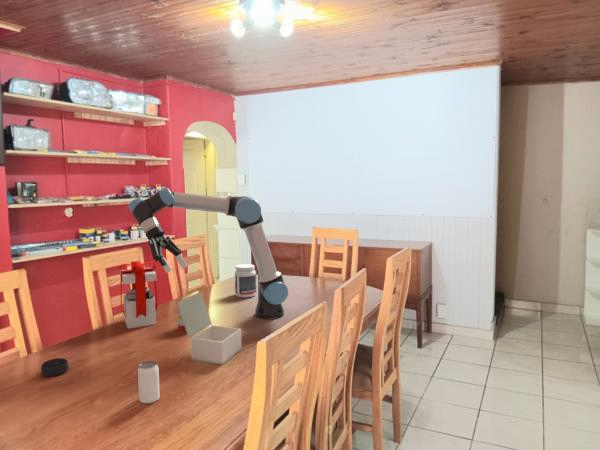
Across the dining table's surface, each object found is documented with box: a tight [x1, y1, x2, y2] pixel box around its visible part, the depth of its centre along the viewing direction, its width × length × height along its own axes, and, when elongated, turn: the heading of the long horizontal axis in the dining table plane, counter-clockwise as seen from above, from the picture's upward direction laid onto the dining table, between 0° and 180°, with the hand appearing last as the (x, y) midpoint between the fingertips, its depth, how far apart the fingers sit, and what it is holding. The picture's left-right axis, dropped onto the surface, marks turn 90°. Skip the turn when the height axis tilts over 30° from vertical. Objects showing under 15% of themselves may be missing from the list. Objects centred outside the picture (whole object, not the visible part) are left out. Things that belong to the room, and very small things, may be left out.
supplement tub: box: [234, 263, 257, 299], centre depth 272 cm, size 13×13×18 cm
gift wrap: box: [118, 260, 158, 329], centre depth 222 cm, size 17×17×30 cm
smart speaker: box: [40, 357, 69, 377], centre depth 168 cm, size 9×9×4 cm
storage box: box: [190, 324, 242, 365], centre depth 183 cm, size 14×16×9 cm
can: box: [137, 360, 161, 405], centre depth 147 cm, size 6×6×12 cm
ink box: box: [177, 305, 186, 332], centre depth 215 cm, size 9×9×12 cm
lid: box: [177, 291, 212, 339], centre depth 185 cm, size 15×17×1 cm
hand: (177, 269), depth 197 cm, fingers open, 13 cm apart
